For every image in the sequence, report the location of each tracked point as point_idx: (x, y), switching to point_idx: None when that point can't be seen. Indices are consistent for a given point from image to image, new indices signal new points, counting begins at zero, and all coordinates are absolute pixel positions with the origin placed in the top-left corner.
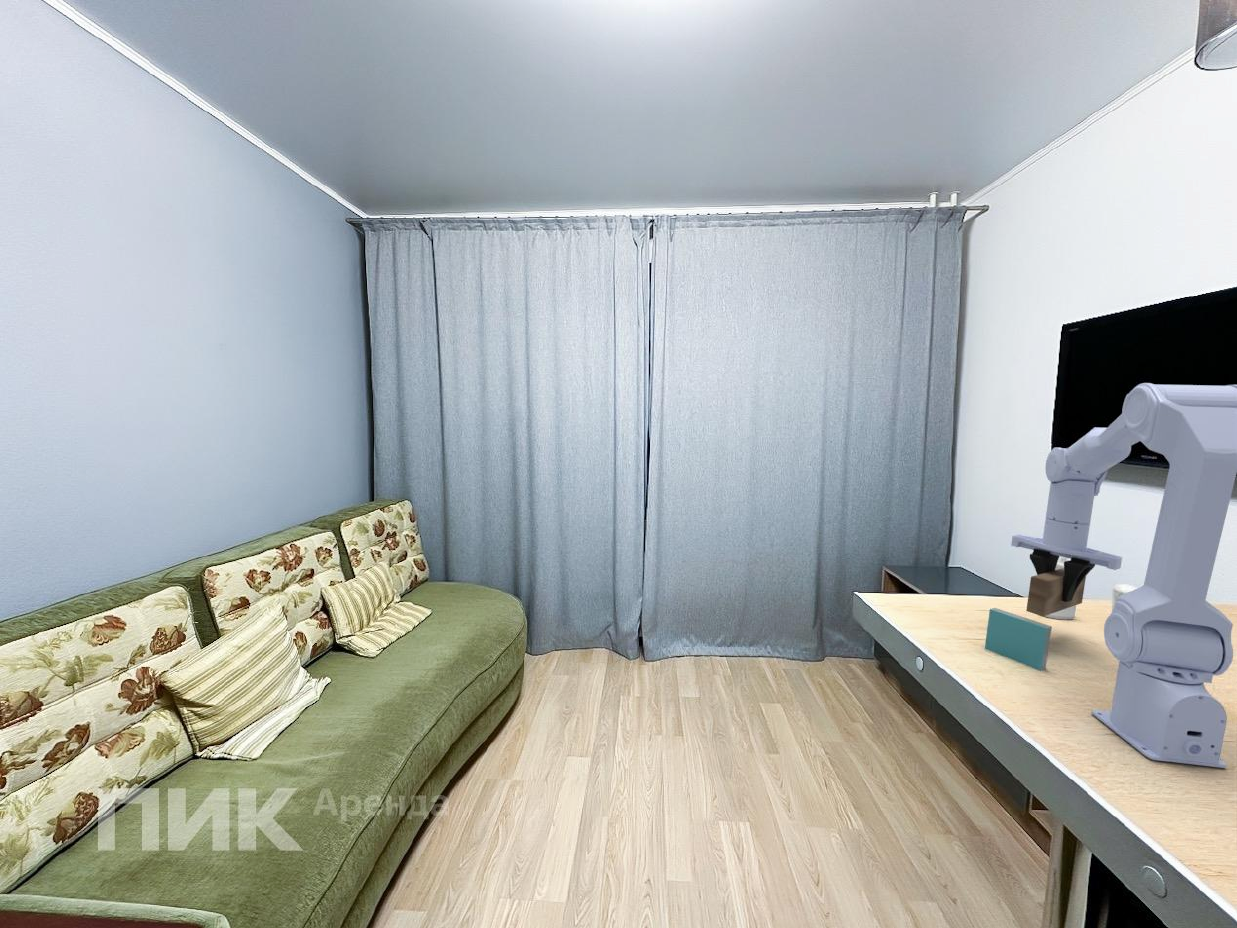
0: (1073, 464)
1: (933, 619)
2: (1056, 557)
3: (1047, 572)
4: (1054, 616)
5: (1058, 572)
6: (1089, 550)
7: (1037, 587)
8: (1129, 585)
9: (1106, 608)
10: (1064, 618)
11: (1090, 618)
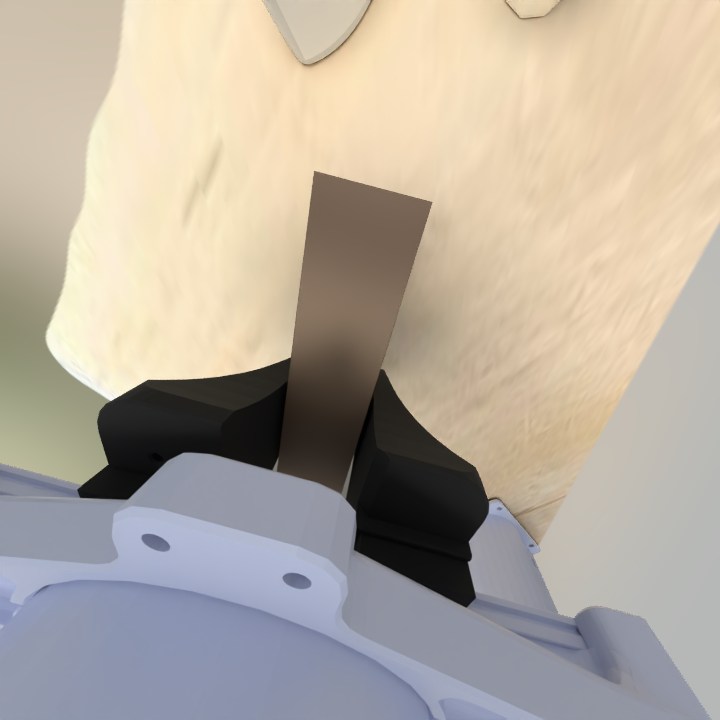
0: None
1: (184, 372)
2: (239, 444)
3: (278, 464)
4: (332, 48)
5: (309, 430)
6: (464, 662)
7: None
8: None
9: None
10: (359, 18)
11: None
